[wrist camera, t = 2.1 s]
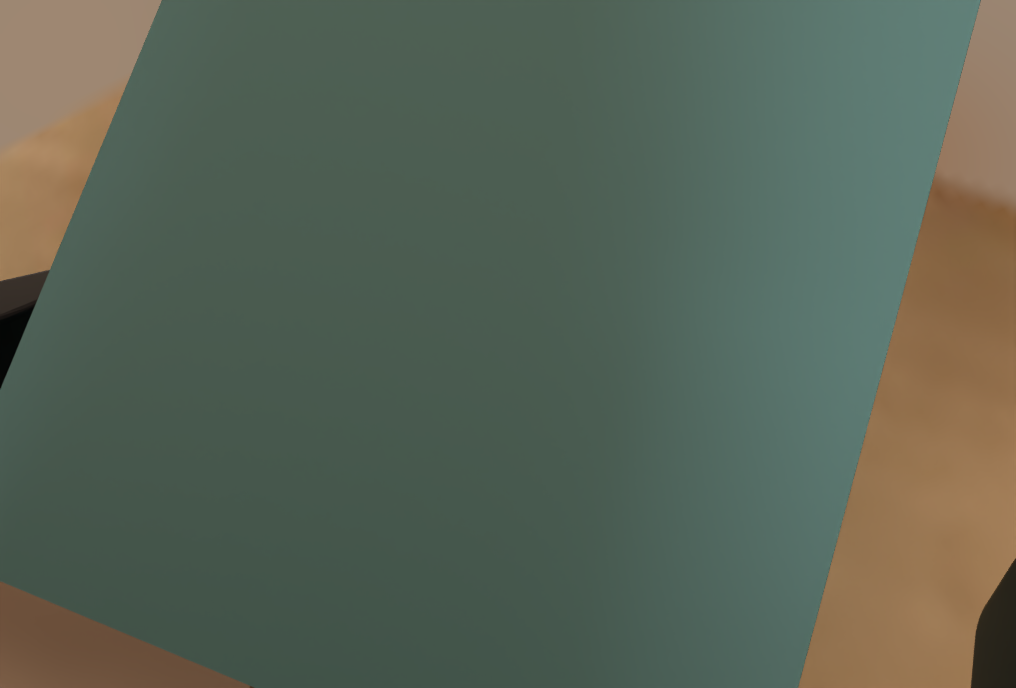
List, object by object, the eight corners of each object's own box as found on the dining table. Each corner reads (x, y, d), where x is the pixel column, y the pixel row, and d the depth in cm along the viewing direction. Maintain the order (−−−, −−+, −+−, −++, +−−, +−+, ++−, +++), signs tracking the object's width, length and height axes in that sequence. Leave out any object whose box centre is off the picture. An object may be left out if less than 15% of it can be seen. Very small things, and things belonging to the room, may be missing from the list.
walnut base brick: (238, 906, 17) (146, 984, 14) (-96, 745, 19) (-237, 784, 16) (379, 492, 18) (322, 483, 15) (51, 379, 20) (-56, 353, 17)
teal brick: (693, 634, 16) (743, 892, 4) (435, 541, 17) (-68, 552, 5) (769, 367, 17) (986, -21, 5) (517, 297, 18) (224, -148, 6)
